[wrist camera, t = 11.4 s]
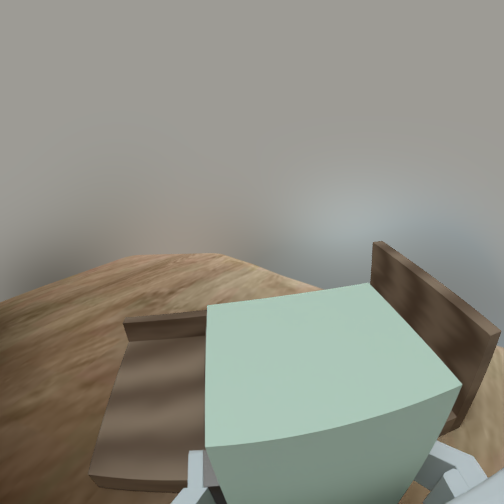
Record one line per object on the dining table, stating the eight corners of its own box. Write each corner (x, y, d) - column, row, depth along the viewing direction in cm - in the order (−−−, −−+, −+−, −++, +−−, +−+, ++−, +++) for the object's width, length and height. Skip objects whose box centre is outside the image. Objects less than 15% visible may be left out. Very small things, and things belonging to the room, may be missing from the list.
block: (363, 547, 9) (462, 384, 5) (257, 569, 9) (205, 446, 4) (338, 475, 14) (368, 282, 10) (247, 491, 13) (207, 305, 9)
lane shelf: (459, 426, 19) (501, 330, 15) (98, 486, 17) (33, 401, 13) (375, 317, 37) (382, 240, 33) (135, 349, 35) (113, 272, 31)
